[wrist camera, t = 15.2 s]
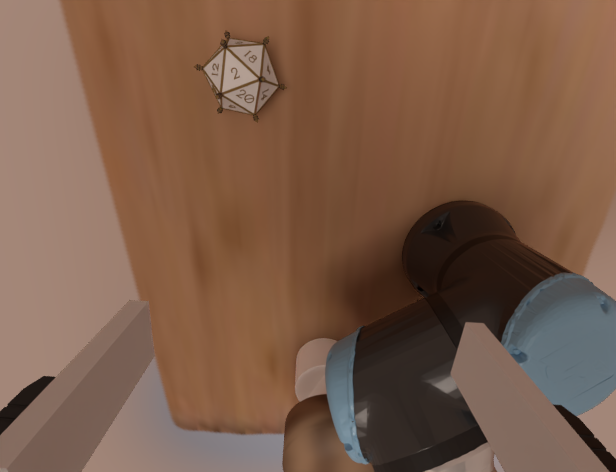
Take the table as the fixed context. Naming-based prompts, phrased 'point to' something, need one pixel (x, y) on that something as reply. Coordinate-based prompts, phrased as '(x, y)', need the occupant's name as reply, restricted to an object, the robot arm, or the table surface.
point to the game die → (241, 75)
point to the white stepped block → (312, 368)
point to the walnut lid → (315, 440)
